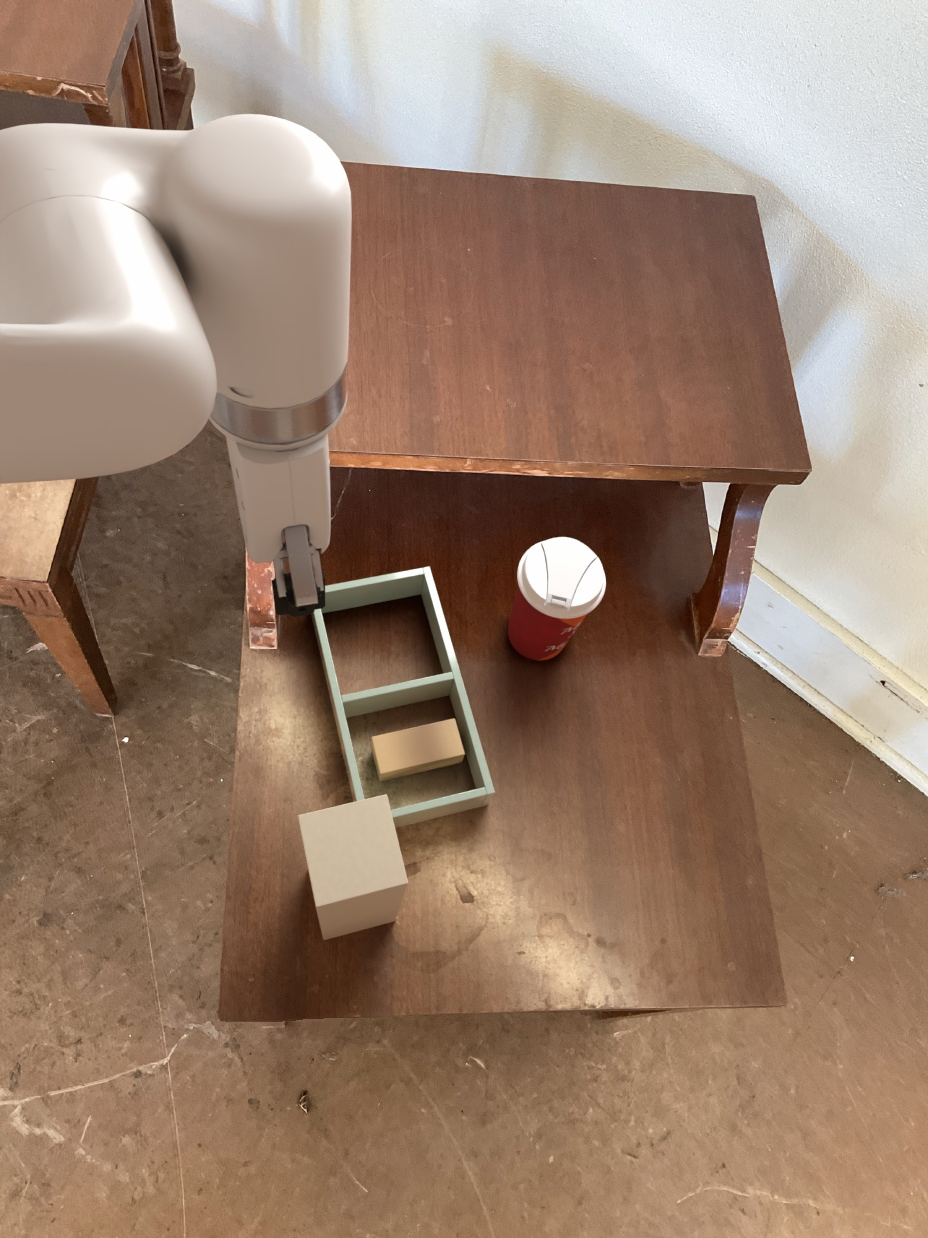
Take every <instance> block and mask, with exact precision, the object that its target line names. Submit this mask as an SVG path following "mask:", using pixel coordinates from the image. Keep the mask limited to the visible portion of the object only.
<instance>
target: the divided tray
mask: <svg viewBox="0 0 928 1238" xmlns="http://www.w3.org/2000/svg"><path fill="white" fill-rule="evenodd" d="M438 593H439V592H438V590H437V587H436V583H435V580H434V577H433V573H432V570H431V566H430V565H429V566H424V567H419V568H413V569H408V570H403V571H398V572H392V573H386V574H381V575H377V576H376V575H375V576H370V577H364V578H361V579H355V580H350V581H344V582H339V583H338V582H337V583H333V584H328V585H325V607H323V608H321V609H316V610H315V611H314V612H313V613H312V614H310V615H311V620H312V623H313V628H314V633H315V637H316V641H317V646H318V650H319V654H320V659H321V664H322V669H323V672H324V676H325V681H326V686H327V690H328V695H329V699H330V703H331V708H332V711H333V717H334V721H335V725H336V730H337V735H338V739H339V743H340V744H339V745H340V748H341V753H342V756H343V760H344V761H343V762H344V766H345V770H346V774H347V779H348V783H349V788H350V793H351V796H352V802H356V801H360V800H364V799H366V798H365V795H364V790H363V785H362V781H361V777H360V772H359V769H358V764H357V759H356V755H355V750H354V747H353V742H352V737H351V734H350V730H349V725H348V720H347V718H352V717H357V716H361V715H362V716H363V715H365V714H366V715H367V714H371V713H375V712H380V711H385V710H389V709H394V708H398V707H402V706H406V705H407V706H408V705H412V704H416V703H420V702H425V701H430V700H434V699H438V698H439V699H440V698H444V697H449V699H450V701H451V702H450V703H451V706H452V709H453V713H454V716H455V720H456V724H457V727H458V731H459V734H460V738H461V741H462V745H463V749H464V752H465V755H466V760H467V762H468V765H469V769H470V773H471V776H472V779H473V783H474V788H475V789H471V790H467V791H463V792H458V793H454V794H451V795H447V796H441V797H438V798H434V799H429V800H426V801H421V802H417V803H412V804H409V805H404V806H401V807H397V808H393V809H391V813H392V817H393V821H394V825H395V829H397V828H401V827H406V826H410V825H413V824H418V823H421V822H425V821H430V820H433V819H437V818H441V817H445V816H446V817H447V816H449V815H454V814H457V813H461V812H466V811H470V810H474V809H479V808H481V807H485V806H489V804H490V803H491V801H492V799H493V797H494V795H495V793H496V791H495V787H494V783H493V780H492V777H491V773H490V769H489V767H488V763H487V759H486V756H485V753H484V749H483V745H482V742H481V739H480V735H479V731H478V728H477V725H476V722H475V718H474V715H473V711H472V707H471V703H470V700H469V697H468V693H467V691H466V687H465V684H464V680H463V677H462V673H461V670H460V666H459V663H458V660H457V656H456V652H455V649H454V646H453V642H452V639H451V636H450V635H451V634H450V632H449V628H448V625H447V621H446V618H445V614H444V611H443V607H442V603H441V601H440V597H439V594H438ZM415 596H421V599H422V603H423V606H424V610H425V613H426V617H427V620H428V624H429V627H430V631H431V635H432V638H433V642H434V646H435V649H436V652H437V656H438V659H439V663H440V666H441V669H442V673H440V674H439V673H438V674H436V675H430V676H425V677H421V678H416V679H412V680H407V681H402V682H398V683H393V684H388V685H383V686H380V687H378V686H377V687H374V688H369V689H365V690H360V691H356V692H350V693H346V694H342V695H341V690H340V686H339V681H338V678H337V671H336V669H335V664H334V660H333V655H332V651H331V647H330V643H329V638H328V635H327V629H326V625H325V621H324V616H323V614H326V613H331V612H336V611H343V610H348V609H353V608H358V607H363V606H369V605H373V604H379V603H383V602H388V601H393V600H394V601H395V600H399V599H405V598H409V597H415Z"/></svg>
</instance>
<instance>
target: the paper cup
mask: <svg viewBox="0 0 928 1238" xmlns="http://www.w3.org/2000/svg"><path fill="white" fill-rule="evenodd" d="M516 575H517V586H516V590H515V595H514V599H513V603H512V607H511V611H510V616H509V620H508V626H507V636H508V641H509V643H510V645H511V646H512V647H513V649H514V650H515V651H516V652H517V653H518V654H519V655H521V656H523V657H524V658H526V659H529V660H533V661H547V660H550V659H553V658H555V657H557V656H558V655H559V654H560V653H561V652H562V651H563V649H564V648H565V647H566V645H567V644H568V642H570V640H571V638H572V637H573V636H574V634H575V633H576V631H577V630H578V628H579V627H580V626H581V624H582V623H583V622H584V619H586V617H587V616H588V614H589V613H591V612H592V611H593V610H594V609H596V608H597V606H598V605H599V604H600V603H601V601H602V599H603V597H604V595H605V592H606V587H607V580H606V574H605V570H604V567H603V564H602V562H601V560H600V558H599V557H598V556H597V554H596V553H595V552H594V551H593V550H592V549H591V548H590V547H589V546H587V545H586V544H585V543H583V542H581V541H580V540H578V539H575V538H572V537H567V536H558V537H552V538H549V539H546V540H545V539H544V540H543V541H540V542H537V543H535V544H534V545H532V546H530V547H529V548H528V549H527V550H526V551H525V552H524V553H523V554H522V557H521V559H520V560H519V563H518V567H517V572H516Z"/></svg>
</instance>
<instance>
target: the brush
mask: <svg viewBox="0 0 928 1238" xmlns="http://www.w3.org/2000/svg"><path fill="white" fill-rule="evenodd" d="M370 748H371V753H372V757H373V761H374V765H375V770H376V773H377V778H378V781H379V782H381V783H383V782H388V781H392V780H395V779H400V778H405V777H409V776H413V775H417V774H422V773H425V772H430V771H433V770H439V769H442V768H446V767H451V766H455V765H458V764H460V763H463V760H464V757H465V755H466V752H465V748H464V745H463V741H462V738H461V734H460V731H459V727H458V723H457V720H456V717H453V718H450V719H444V720H440V721H436V722H435V721H434V722H432V723H427V724H423V725H418V726H414V727H410V728H409V727H408V728H404V729H400V730H395V731H392V732H386V733H382V734H377V735H374V736H373V735H372V736H371V737H370Z"/></svg>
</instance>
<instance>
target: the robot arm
mask: <svg viewBox="0 0 928 1238" xmlns="http://www.w3.org/2000/svg"><path fill="white" fill-rule="evenodd" d="M352 209H353V208H352V191H351V187H350V183H349V179H348V176H347V173H346V170H345V168H344V166H343V164H342V163H341V161H340V159H339V157H338V156H337V155H336V153H335V152H334V151H333V149H332V148H331V147H330V146H329V145H328V143H327V142H326V141H324V140H323V139H322V138H321V137H319V136H318V135H317V133H315V132H313V131H311V130H310V129H308V128H306V127H304V126H302V125H300V124H297V123H296V122H293V121H290V120H288V119H285V118H281V117H277V116H274V115H267V114H260V113H259V114H257V113H241V114H231V115H227V116H221V117H219V118H216V119H213V120H210V121H206V122H205V123H203V124H201V125H198V126H196V127H195V128H192V129H189V130H179V129H178V130H175V129H150V128H149V129H147V128H132V127H119V126H118V127H117V126H104V125H94V124H78V123H59V122H58V123H57V122H55V123H54V122H52V123H51V122H50V123H49V122H42V123H28V124H20V125H15V126H10V127H7V128H3V129H0V485H5V484H6V485H7V484H19V483H21V484H22V483H23V484H24V483H37V482H41V483H42V482H54V481H65V480H66V481H67V480H68V481H69V480H81V479H82V480H83V479H89V478H95V477H103V476H110V475H111V476H112V475H115V474H122V473H126V472H131V471H135V470H137V469H141V468H144V467H147V466H151V465H153V464H156V463H159V462H161V461H163V460H165V459H166V458H167V459H168V458H169V457H171V456H173V455H175V454H177V453H178V452H180V451H181V450H182V449H184V448H185V447H186V446H187V445H189V444H190V443H191V442H193V441H194V440H195V438H196V437H197V436H198V435H199V434H200V433H201V432H202V430H203V429H204V427H205V426H206V425H207V423H208V420H209V421H210V423H211V424H212V426H213V427H214V428H216V429H217V430H218V431H219V432H220V433H221V434H222V435H224V436H225V440H226V447H227V452H228V458H229V463H230V469H231V475H232V481H233V487H234V492H235V498H236V502H237V508H238V513H239V518H240V523H241V529H242V534H243V539H244V544H245V545H244V546H245V550H246V553H247V556H248V558H249V559H250V560H251V561H252V562H253V563H254V564H268V563H272V565H273V569H274V571H273V572H274V577H275V578H273V579H271V587H272V596H273V604H274V610H275V614H276V615H278V616H284V615H285V616H286V615H289V616H291V617H293V618H298V617H305V616H309V615H311V614H312V613H313V612H314V611H315V610H316V609H321V608H323V607H325V586H326V577H325V572H324V571H322V564H321V556H320V554H321V555H322V554H323V553H325V551H327V549H328V547H329V545H330V542H331V528H332V527H331V524H332V523H331V520H332V519H331V518H332V517H331V515H332V513H331V509H332V507H331V506H332V505H331V501H332V500H331V470H330V469H331V468H330V466H331V460H330V447H329V445H330V444H329V443H330V442H329V433H330V432H331V431H332V430H333V429H334V428H335V427H336V426H337V424H339V422H340V420H341V419H342V417H343V415H344V413H345V411H346V407H347V403H348V391H349V389H348V386H349V385H348V382H349V379H348V377H349V339H350V338H349V337H350V303H351V301H350V299H351V298H350V297H351V265H352V264H351V260H352V259H351V257H352V225H353V224H352V223H353V222H352V221H353V219H352V218H353V217H352V216H353V215H352V214H353V213H352ZM283 536H284V541H283ZM283 559H287V561H288V565H289V566H288V567H289V572H287V573H285V570H284V563H283Z"/></svg>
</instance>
